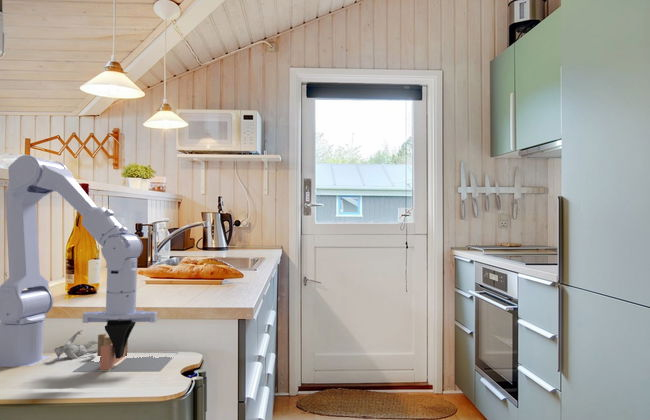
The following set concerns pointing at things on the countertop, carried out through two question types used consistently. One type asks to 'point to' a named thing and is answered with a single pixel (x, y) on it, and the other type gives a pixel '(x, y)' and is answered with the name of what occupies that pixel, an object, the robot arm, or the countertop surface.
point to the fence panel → (108, 357)
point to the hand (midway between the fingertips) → (119, 357)
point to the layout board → (129, 364)
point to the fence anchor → (107, 343)
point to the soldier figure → (76, 348)
